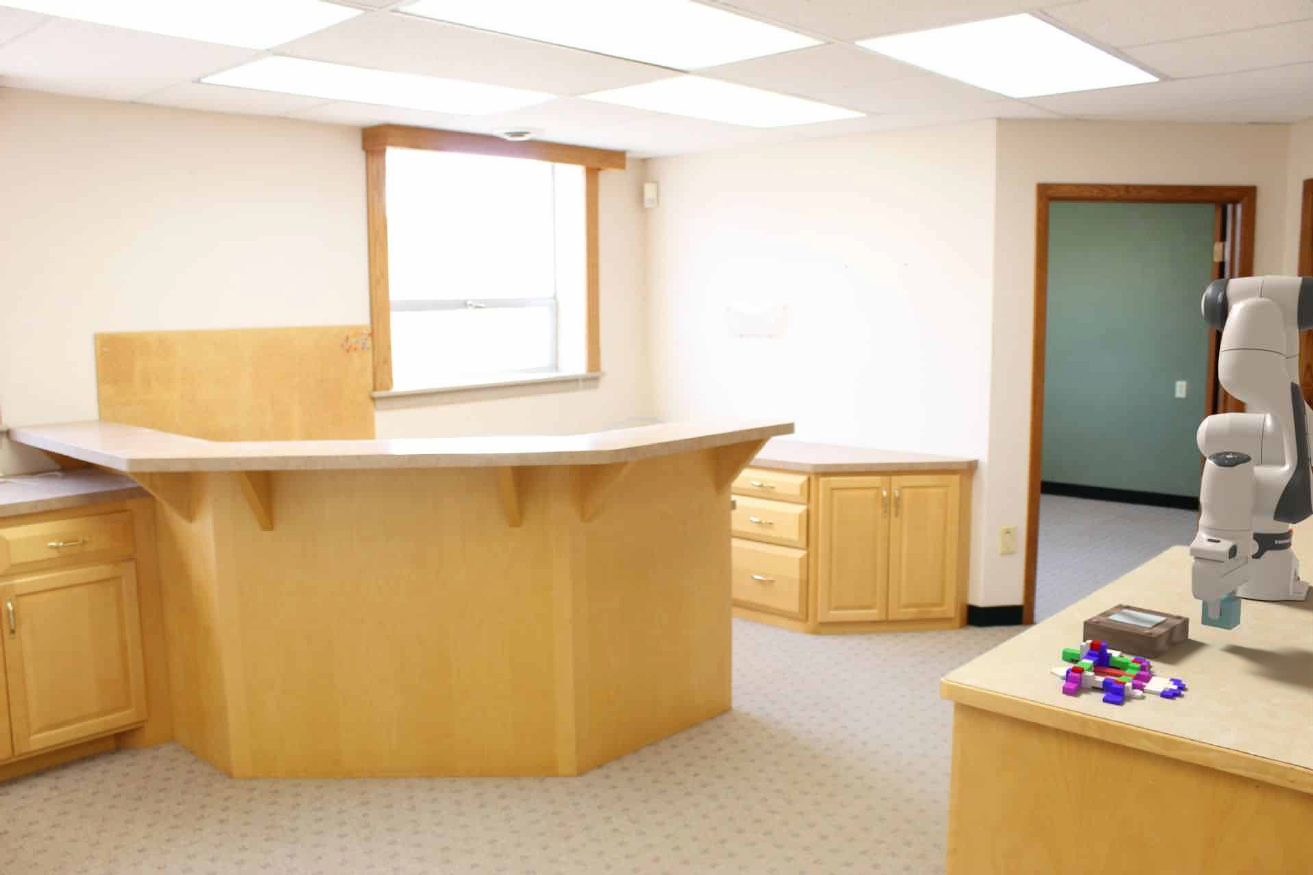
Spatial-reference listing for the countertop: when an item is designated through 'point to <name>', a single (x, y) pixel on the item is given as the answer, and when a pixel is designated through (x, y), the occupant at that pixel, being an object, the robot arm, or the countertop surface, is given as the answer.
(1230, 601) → the teal block
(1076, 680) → the building block set
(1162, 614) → the plinth
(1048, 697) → the countertop surface
